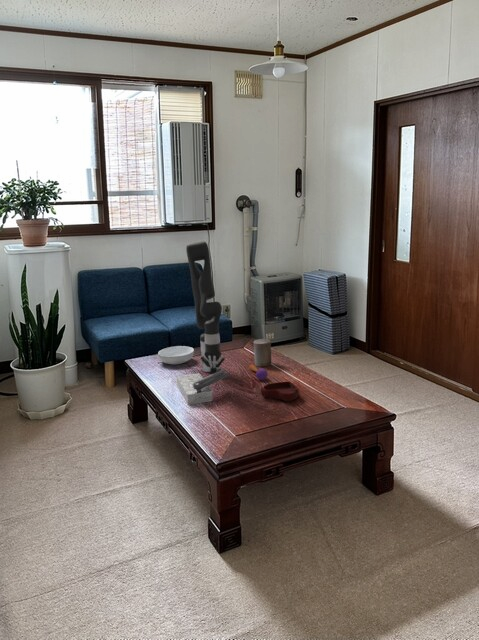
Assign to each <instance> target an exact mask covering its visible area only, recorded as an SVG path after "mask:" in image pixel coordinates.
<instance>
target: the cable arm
mask: <svg viewBox="0 0 479 640" xmlns="http://www.w3.org/2000/svg"><path fill="white" fill-rule="evenodd" d="M228 377H229V371H225V369H220V370H217V372H216V373H214V374H211V373H210V374H209V375H207V376H205V377H202V378H203V379H200V380H199V381H197V382H195V383H193V388H194V389H203V388H205V387H207V386H209V387H210V386H211V385H213V384H214V383H217V382H219V381H222V380H223V379H225V378H228Z"/></svg>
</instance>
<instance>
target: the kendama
mask: <svg viewBox="0 0 479 640" xmlns="http://www.w3.org/2000/svg"><path fill="white" fill-rule="evenodd" d="M249 370H251V371H253V372H255V376H256V378H257V380H259V381H264V380H266V379H267V378H268V371H267V370H266V369H264V368H259V369H258V368H257V366H256V365H255V363H254V364H250V365H249Z"/></svg>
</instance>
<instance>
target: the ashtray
mask: <svg viewBox="0 0 479 640" xmlns="http://www.w3.org/2000/svg"><path fill="white" fill-rule="evenodd" d="M299 392H300V389H299V387H297V386H296V385H295V384H294V383H293V382H291V381H280V382H270V383H267V384H265V385H264V386H263V387H261V388H260V393H261V396H263V397H264V398H265V399H270V398H272V399H275V400H282V401H285V402H287V403H291V402H292V401H294V400H295V399H297V398H298V396H299V394H300V393H299Z"/></svg>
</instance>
